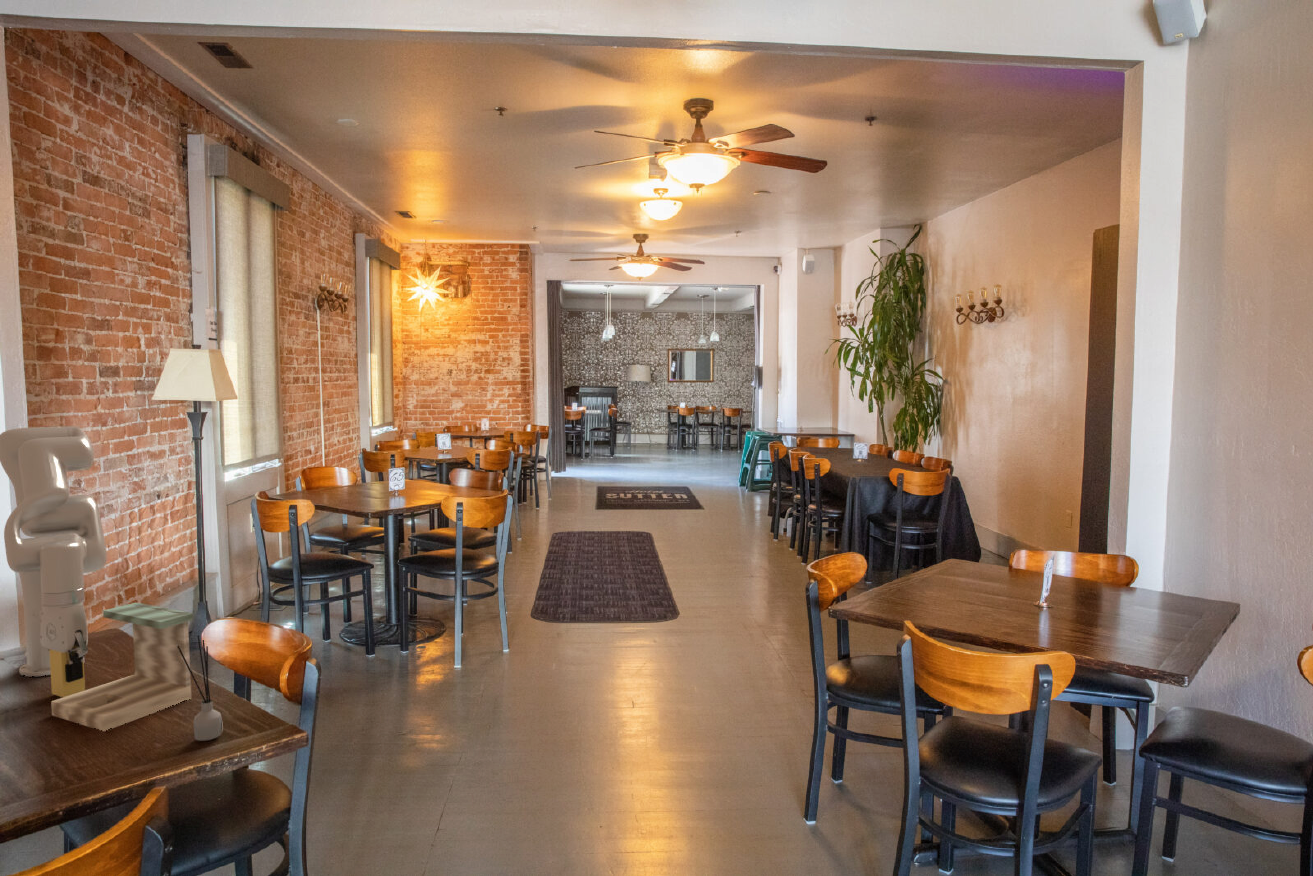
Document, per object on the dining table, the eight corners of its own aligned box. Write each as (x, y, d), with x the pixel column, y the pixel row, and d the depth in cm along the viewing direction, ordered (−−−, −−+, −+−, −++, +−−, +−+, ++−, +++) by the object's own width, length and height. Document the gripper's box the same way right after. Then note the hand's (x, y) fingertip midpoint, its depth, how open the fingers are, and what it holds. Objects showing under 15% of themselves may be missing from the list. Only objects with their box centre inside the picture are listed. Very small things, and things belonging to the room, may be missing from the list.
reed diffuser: (227, 743, 152) (223, 640, 150) (186, 754, 147) (181, 648, 146) (216, 725, 159) (212, 628, 158) (177, 735, 155) (172, 635, 154)
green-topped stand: (49, 714, 165) (44, 625, 164) (139, 684, 182) (135, 602, 181) (107, 732, 157) (102, 638, 155) (196, 698, 173) (192, 613, 172)
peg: (51, 693, 175) (48, 640, 174) (73, 686, 179) (70, 634, 178) (63, 697, 173) (60, 644, 172) (85, 690, 177) (82, 638, 176)
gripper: (22, 596, 175) (27, 677, 176) (67, 607, 168) (71, 691, 169) (60, 588, 182) (64, 666, 183) (104, 598, 174) (108, 679, 176)
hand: (67, 677), depth 176 cm, fingers closed on peg, 4 cm apart
